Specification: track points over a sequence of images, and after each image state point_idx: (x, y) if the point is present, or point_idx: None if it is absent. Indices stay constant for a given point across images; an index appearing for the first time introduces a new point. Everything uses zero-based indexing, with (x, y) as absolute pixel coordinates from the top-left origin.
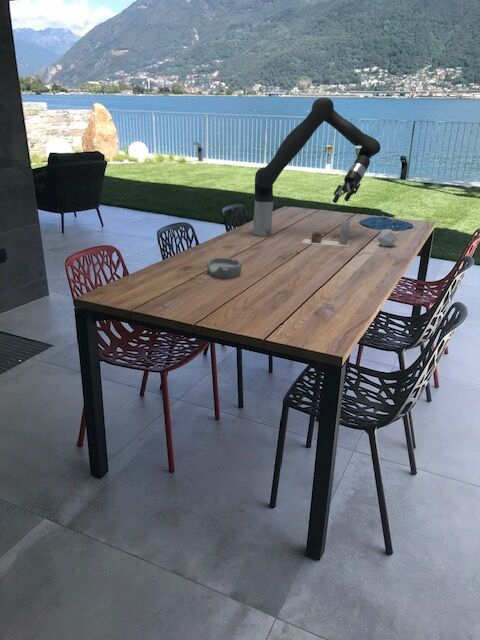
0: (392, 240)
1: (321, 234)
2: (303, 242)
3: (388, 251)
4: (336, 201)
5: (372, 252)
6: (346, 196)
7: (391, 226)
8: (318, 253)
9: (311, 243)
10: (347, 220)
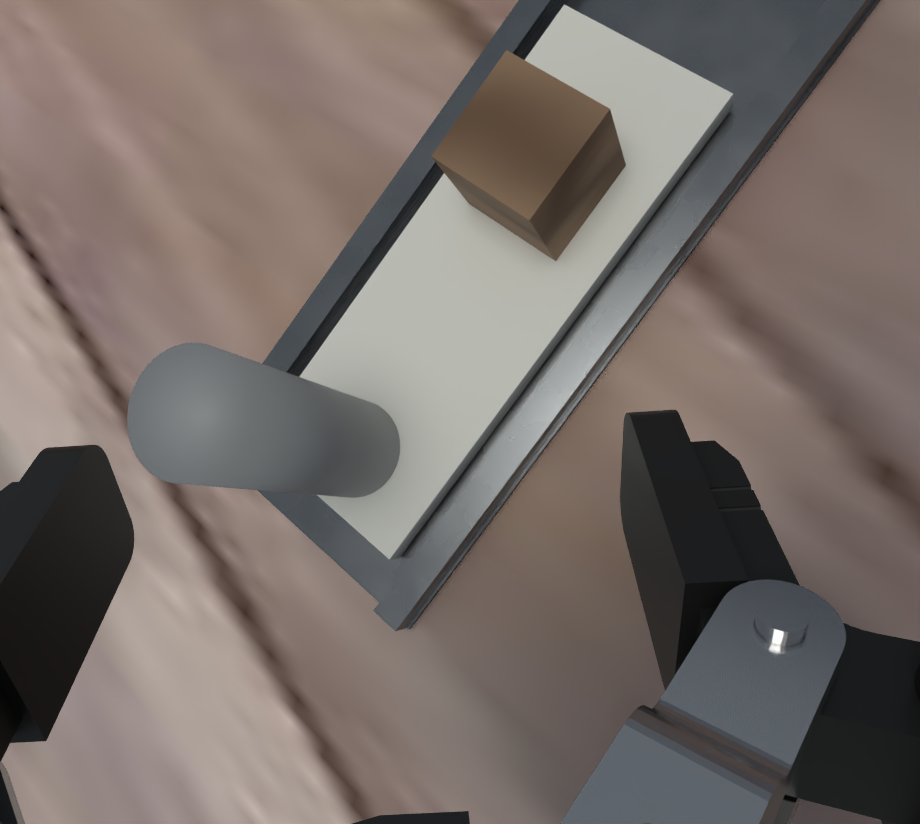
0: None
1: (459, 177)
2: (572, 26)
3: (67, 796)
4: (630, 541)
5: None
6: (12, 511)
7: None
8: (271, 76)
9: None
10: (208, 469)
